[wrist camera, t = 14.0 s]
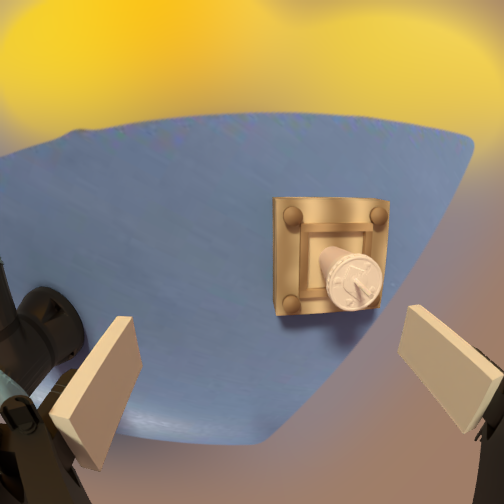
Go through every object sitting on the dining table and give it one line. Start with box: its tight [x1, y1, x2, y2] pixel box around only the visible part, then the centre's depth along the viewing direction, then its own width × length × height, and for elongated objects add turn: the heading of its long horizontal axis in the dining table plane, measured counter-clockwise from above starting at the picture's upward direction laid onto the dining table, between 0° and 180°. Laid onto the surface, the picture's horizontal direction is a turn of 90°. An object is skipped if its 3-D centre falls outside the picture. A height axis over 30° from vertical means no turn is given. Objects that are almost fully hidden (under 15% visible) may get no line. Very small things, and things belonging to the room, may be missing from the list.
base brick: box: [272, 197, 390, 316], centre depth 41 cm, size 16×16×6 cm
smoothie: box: [319, 246, 383, 311], centre depth 32 cm, size 6×6×14 cm
